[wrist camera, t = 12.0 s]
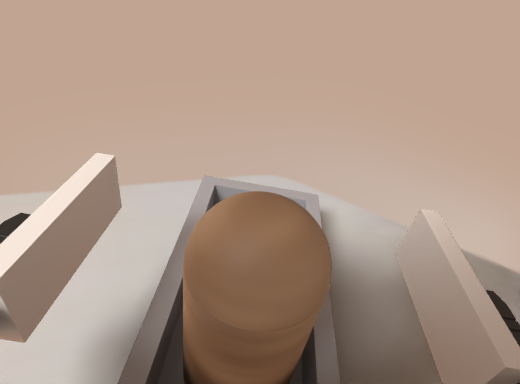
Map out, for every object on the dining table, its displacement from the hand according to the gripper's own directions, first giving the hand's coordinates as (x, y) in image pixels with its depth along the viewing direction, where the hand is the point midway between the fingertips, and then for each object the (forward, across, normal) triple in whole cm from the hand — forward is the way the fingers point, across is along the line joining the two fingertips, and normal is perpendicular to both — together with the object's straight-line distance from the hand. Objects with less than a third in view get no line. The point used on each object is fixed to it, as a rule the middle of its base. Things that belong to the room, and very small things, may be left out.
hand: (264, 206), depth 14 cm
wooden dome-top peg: (-3, 0, -8) cm, 8 cm away
